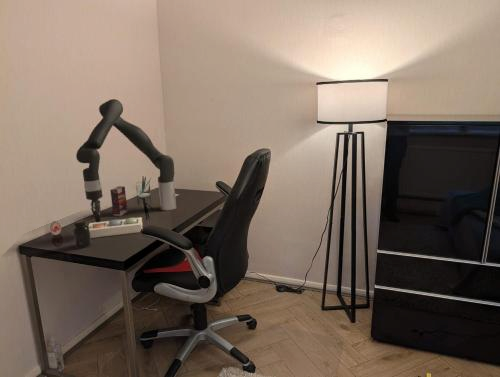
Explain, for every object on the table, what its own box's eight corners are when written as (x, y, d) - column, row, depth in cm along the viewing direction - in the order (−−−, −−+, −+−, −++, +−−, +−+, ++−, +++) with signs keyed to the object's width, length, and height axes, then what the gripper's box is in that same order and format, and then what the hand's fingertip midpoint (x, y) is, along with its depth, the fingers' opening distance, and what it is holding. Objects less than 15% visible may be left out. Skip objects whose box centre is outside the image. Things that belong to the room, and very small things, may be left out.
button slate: (121, 223, 185) (120, 218, 185) (120, 227, 180) (119, 222, 179) (110, 224, 184) (109, 220, 183) (108, 228, 179) (108, 223, 178)
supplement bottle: (78, 243, 168) (75, 219, 166) (93, 242, 169) (90, 218, 166) (73, 248, 162) (69, 224, 159) (88, 247, 162) (84, 223, 159)
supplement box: (120, 216, 207) (117, 189, 203) (113, 215, 208) (109, 189, 204) (128, 211, 215) (125, 186, 212) (121, 211, 216) (117, 186, 213)
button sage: (137, 221, 187) (136, 217, 187) (137, 225, 182) (136, 220, 181) (126, 223, 186) (125, 218, 185) (125, 226, 181) (124, 221, 180)
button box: (142, 224, 192) (141, 217, 191) (141, 231, 180) (141, 224, 179) (90, 230, 185) (89, 223, 184) (86, 238, 174) (85, 230, 173)
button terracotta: (105, 228, 184) (104, 223, 183) (104, 231, 178) (103, 227, 178) (94, 229, 182) (93, 224, 182) (92, 233, 177) (91, 228, 176)
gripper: (99, 191, 170) (104, 225, 174) (102, 185, 182) (107, 217, 186) (82, 192, 168) (88, 227, 172) (87, 186, 180) (92, 218, 184)
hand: (98, 221), depth 179 cm, fingers closed
